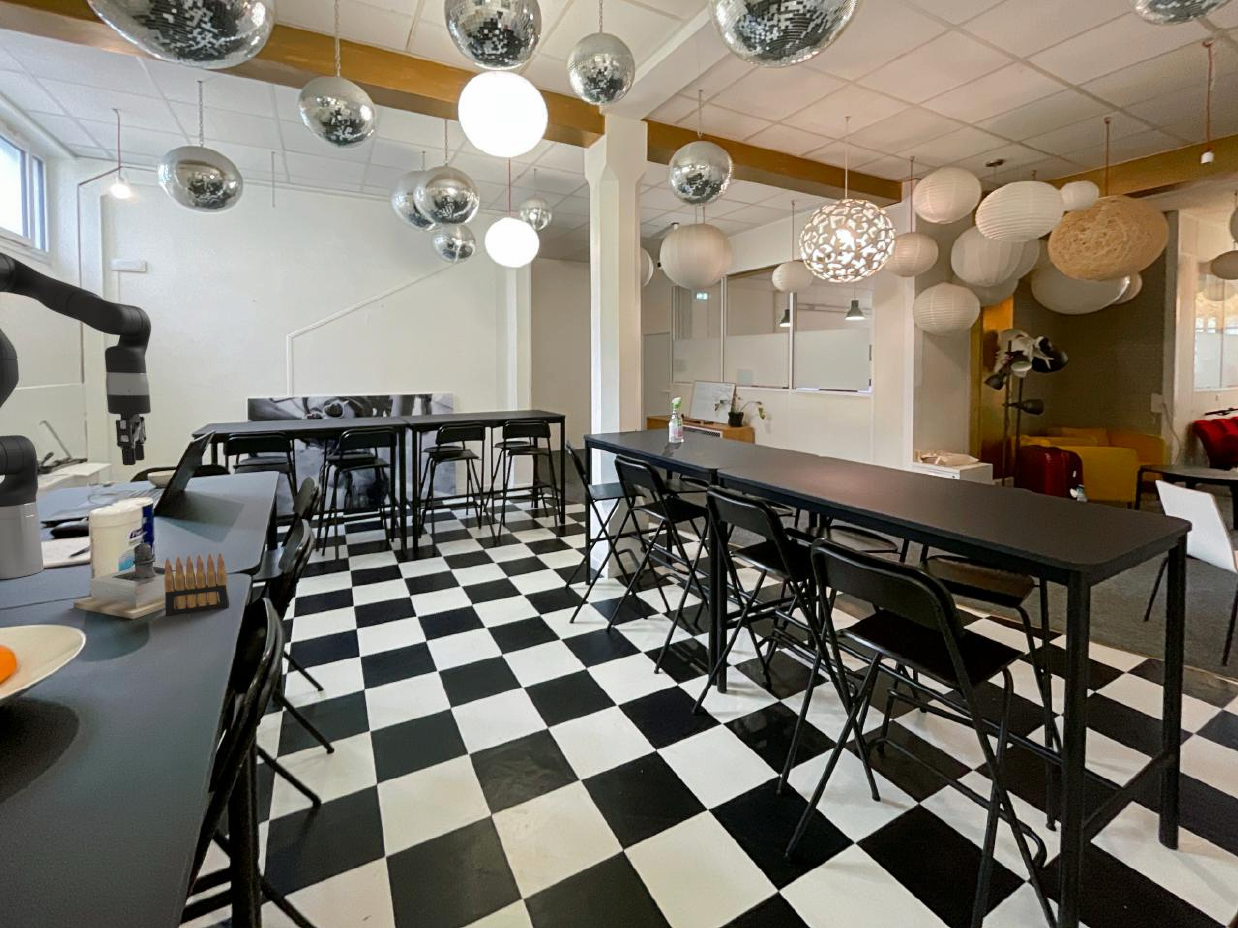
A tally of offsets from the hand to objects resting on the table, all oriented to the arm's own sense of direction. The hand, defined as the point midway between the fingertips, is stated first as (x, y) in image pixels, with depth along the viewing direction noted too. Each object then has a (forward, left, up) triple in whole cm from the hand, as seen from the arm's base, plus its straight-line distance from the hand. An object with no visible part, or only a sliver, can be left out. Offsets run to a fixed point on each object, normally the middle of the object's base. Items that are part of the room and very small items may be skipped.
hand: (134, 462), depth 134 cm
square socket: (+14, -9, -27) cm, 32 cm away
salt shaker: (+14, -9, -27) cm, 32 cm away
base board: (+14, -9, -28) cm, 33 cm away
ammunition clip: (+30, -10, -28) cm, 42 cm away
